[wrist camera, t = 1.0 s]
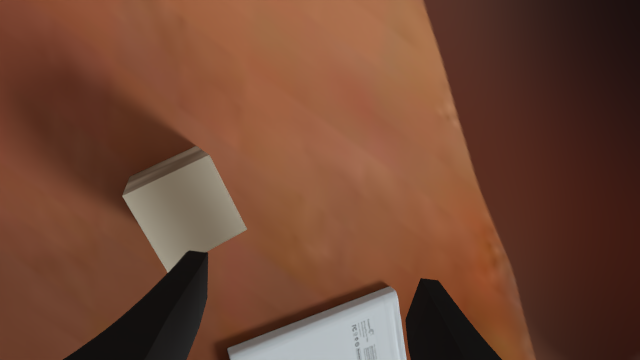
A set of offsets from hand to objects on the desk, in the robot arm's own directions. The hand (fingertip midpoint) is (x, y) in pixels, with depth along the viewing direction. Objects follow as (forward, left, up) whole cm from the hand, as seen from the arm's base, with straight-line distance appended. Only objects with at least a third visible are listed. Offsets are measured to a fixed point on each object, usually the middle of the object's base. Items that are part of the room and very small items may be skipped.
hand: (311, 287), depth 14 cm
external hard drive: (0, -13, -13) cm, 19 cm away
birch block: (-3, +3, -13) cm, 13 cm away
